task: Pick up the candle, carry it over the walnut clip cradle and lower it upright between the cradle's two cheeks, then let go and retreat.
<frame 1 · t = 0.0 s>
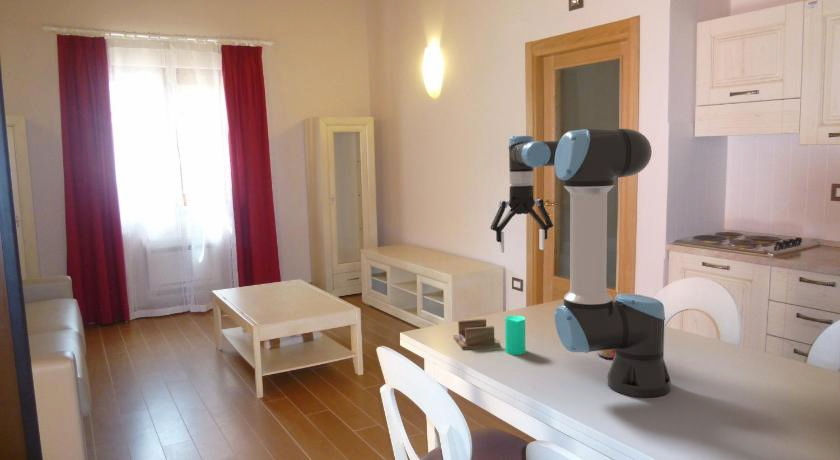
hand: (522, 250, 200), 28 cm above the table, fingers open, 13 cm apart
mug: (614, 355, 182), on the table
clip cradle: (476, 342, 197), on the table
candle: (515, 352, 187), on the table
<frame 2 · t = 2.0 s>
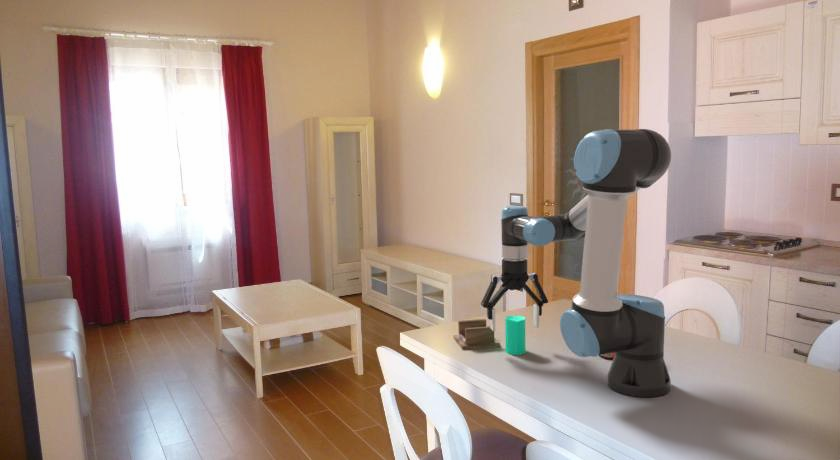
hand: (514, 328, 187), 7 cm above the table, fingers open, 13 cm apart
nothing on the table moved.
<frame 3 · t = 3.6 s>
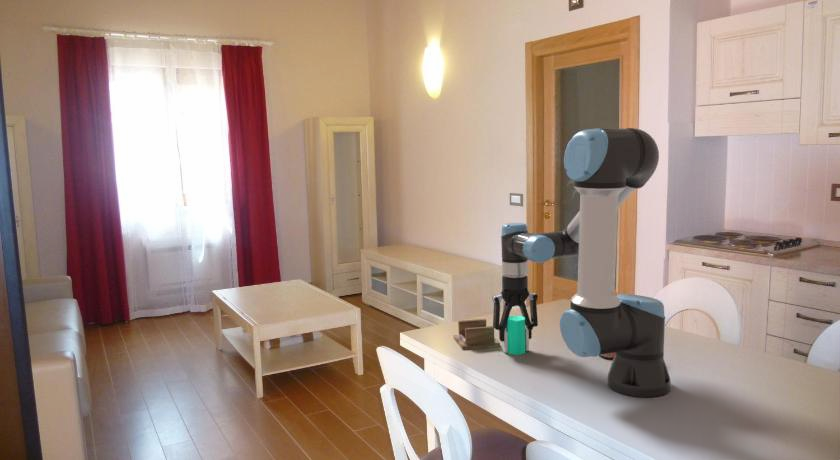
hand: (515, 350, 187), 0 cm above the table, fingers closed on candle, 6 cm apart
candle: (515, 352, 187), on the table, touching gripper
everything else where it was.
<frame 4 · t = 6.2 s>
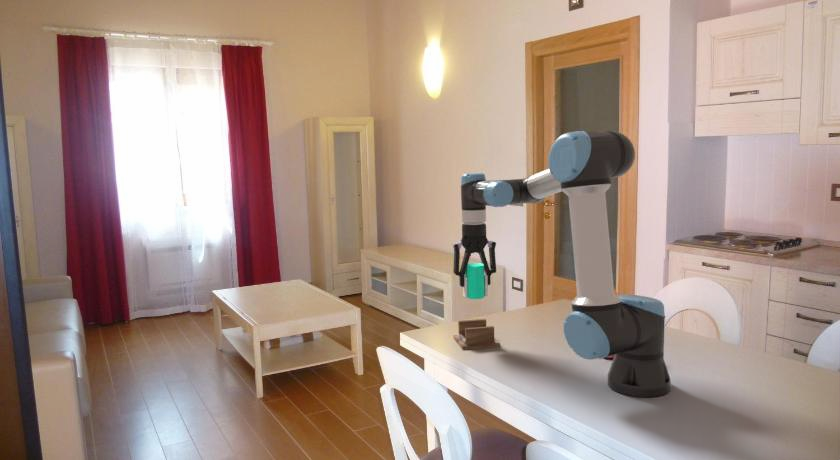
hand: (475, 295, 195), 15 cm above the table, fingers closed on candle, 6 cm apart
candle: (475, 297, 195), point 15 cm above the table, touching gripper
everything else where it was.
when the fingers open (3 cm above the table, at t = 8.9 s): candle drops 2 cm, resting on clip cradle.
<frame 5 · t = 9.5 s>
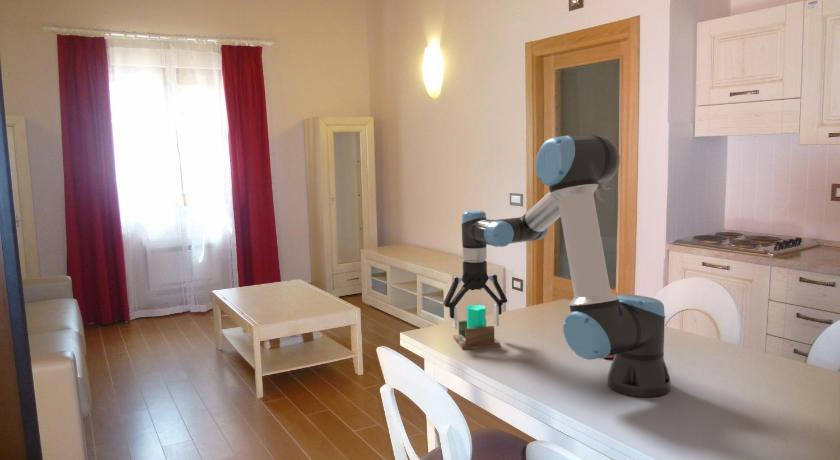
hand: (475, 326, 197), 5 cm above the table, fingers open, 13 cm apart
candle: (476, 339, 197), point 1 cm above the table, touching clip cradle
everything else where it was.
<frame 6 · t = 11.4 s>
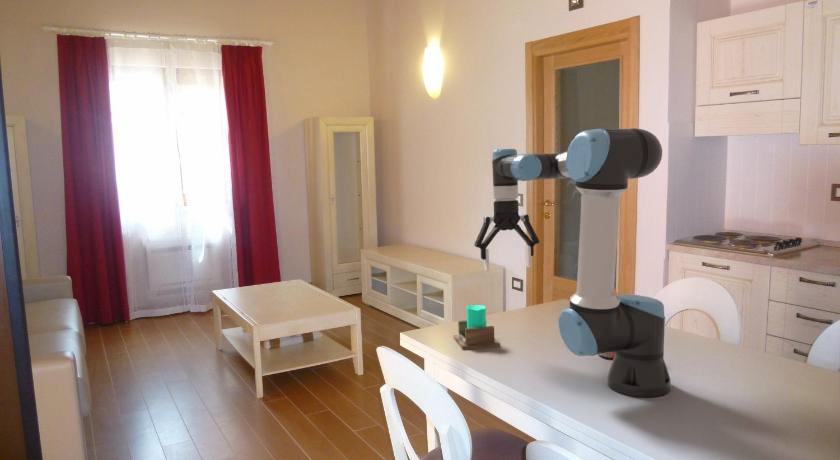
hand: (507, 268, 192), 24 cm above the table, fingers open, 13 cm apart
nothing on the table moved.
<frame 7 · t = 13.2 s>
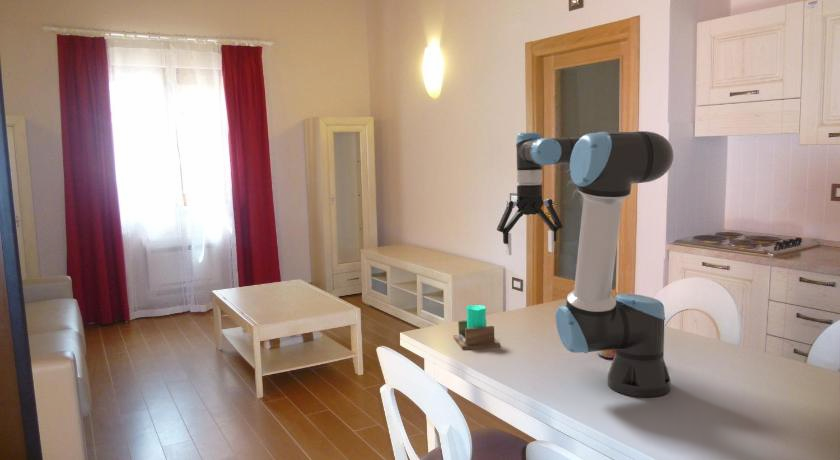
hand: (530, 253, 190), 29 cm above the table, fingers open, 13 cm apart
nothing on the table moved.
at the end: candle 0.2 cm off-centre on the clip cradle, point 0.8 cm above the clip cradle's base; candle tilted 0°; the gripper is holding nothing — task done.
